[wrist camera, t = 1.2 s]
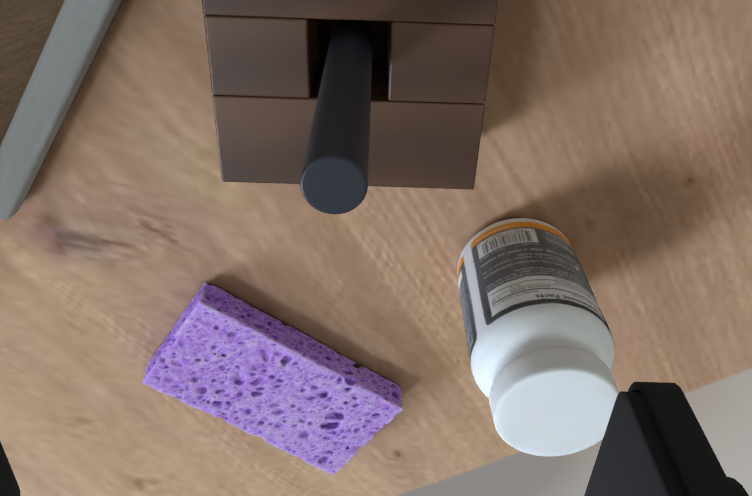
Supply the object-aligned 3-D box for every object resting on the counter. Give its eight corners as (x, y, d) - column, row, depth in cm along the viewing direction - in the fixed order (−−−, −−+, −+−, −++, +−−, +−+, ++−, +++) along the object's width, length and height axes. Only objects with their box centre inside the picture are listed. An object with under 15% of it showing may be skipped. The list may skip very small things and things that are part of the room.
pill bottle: (539, 318, 35) (589, 480, 26) (437, 289, 34) (455, 448, 25) (594, 231, 32) (669, 383, 23) (483, 197, 31) (521, 342, 22)
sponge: (334, 450, 41) (332, 476, 39) (145, 360, 36) (134, 385, 35) (405, 385, 37) (406, 410, 36) (206, 277, 33) (197, 301, 32)
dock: (216, -116, 24) (190, -102, 20) (492, -106, 24) (510, -90, 20) (239, 138, 29) (221, 182, 26) (463, 145, 29) (473, 190, 26)
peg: (333, 7, 26) (298, 154, 15) (373, 8, 26) (368, 156, 15) (333, 48, 27) (300, 214, 16) (372, 49, 27) (366, 216, 16)
